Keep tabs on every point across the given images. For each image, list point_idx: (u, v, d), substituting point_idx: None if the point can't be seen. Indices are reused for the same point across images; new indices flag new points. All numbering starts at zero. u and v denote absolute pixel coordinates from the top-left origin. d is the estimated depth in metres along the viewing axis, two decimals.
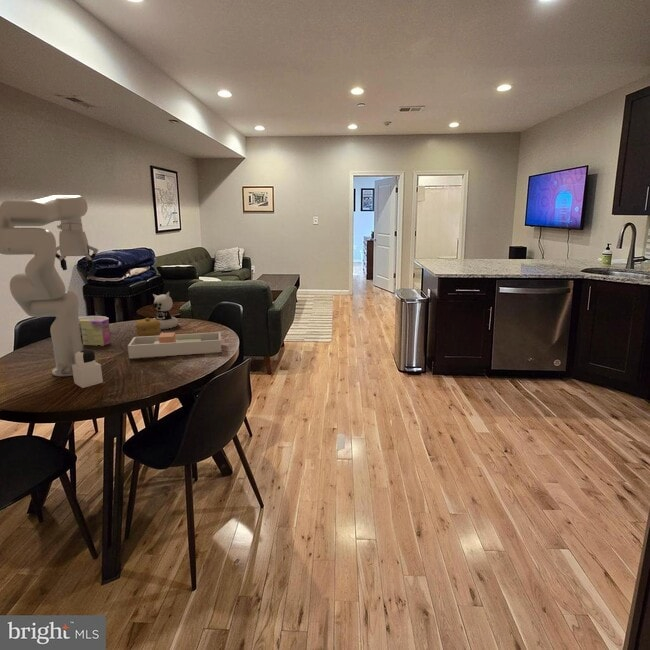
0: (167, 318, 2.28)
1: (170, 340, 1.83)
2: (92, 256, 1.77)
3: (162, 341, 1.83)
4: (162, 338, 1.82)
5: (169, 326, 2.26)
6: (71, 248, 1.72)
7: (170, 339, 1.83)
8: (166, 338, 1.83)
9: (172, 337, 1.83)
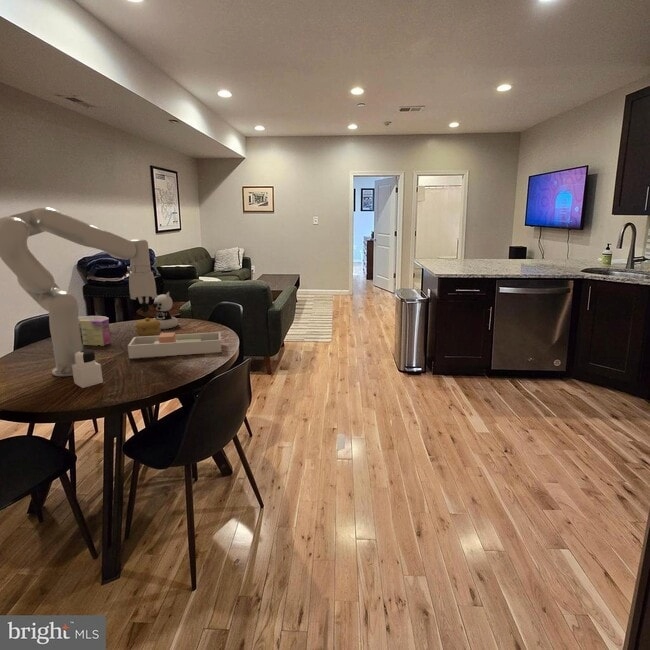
0: (167, 318, 2.28)
1: (170, 340, 1.83)
2: (149, 299, 1.80)
3: (162, 341, 1.83)
4: (162, 338, 1.82)
5: (169, 326, 2.26)
6: (140, 289, 1.76)
7: (170, 339, 1.83)
8: (166, 338, 1.83)
9: (172, 337, 1.83)
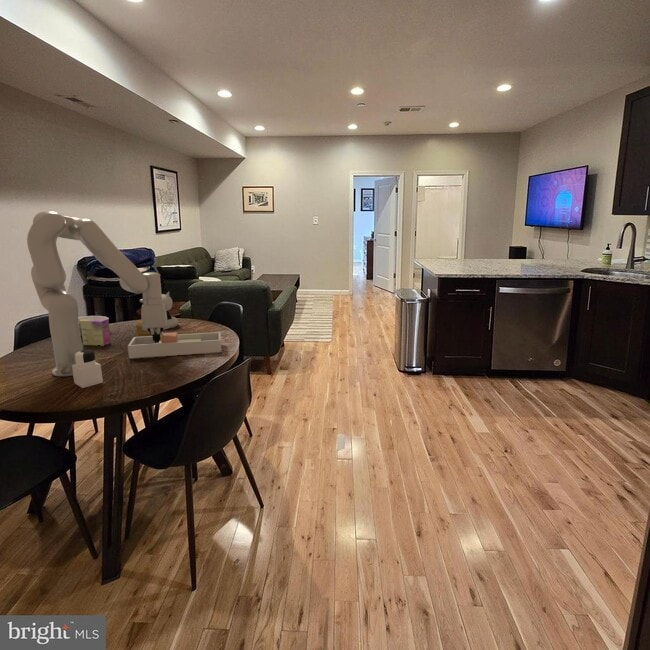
0: (167, 318, 2.28)
1: (172, 340, 1.84)
2: (160, 330, 1.84)
3: (164, 341, 1.83)
4: (164, 338, 1.82)
5: (169, 326, 2.26)
6: (152, 321, 1.80)
7: (172, 339, 1.83)
8: (168, 338, 1.83)
9: (174, 337, 1.83)
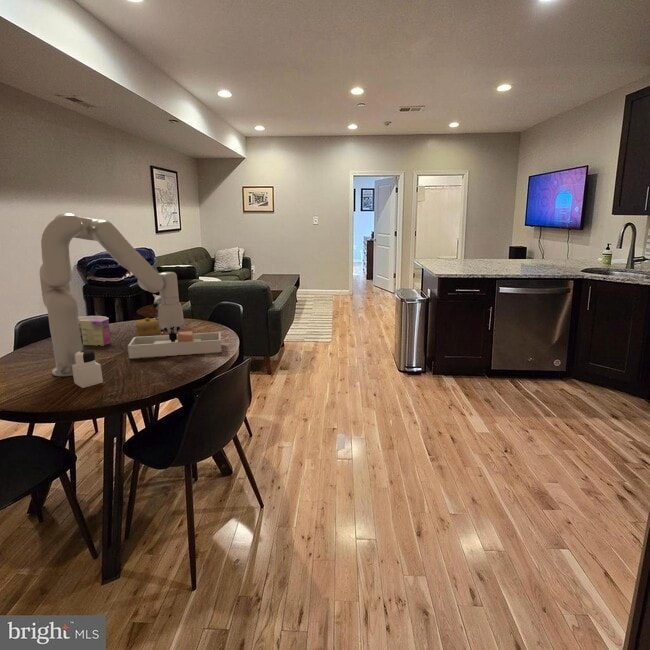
0: None
1: (188, 339, 1.85)
2: (177, 329, 1.86)
3: (181, 340, 1.84)
4: (181, 337, 1.84)
5: None
6: (169, 320, 1.82)
7: (188, 338, 1.85)
8: (185, 337, 1.85)
9: (190, 336, 1.85)
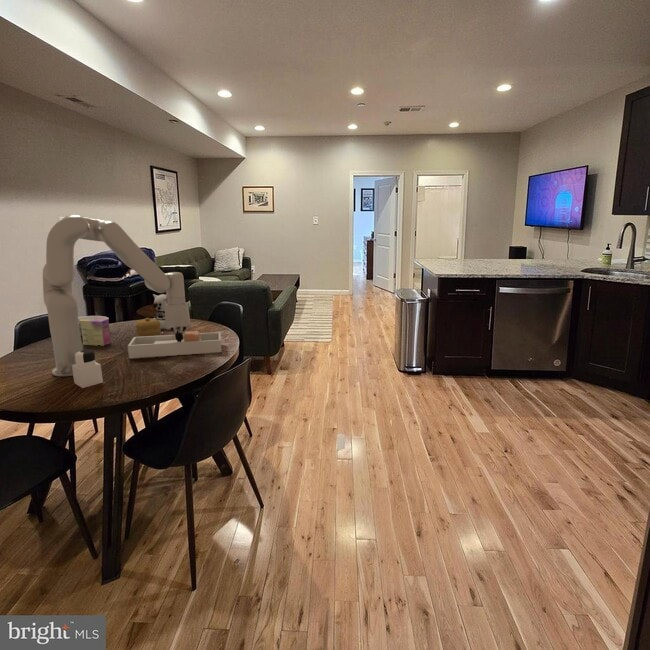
0: None
1: (195, 339, 1.86)
2: (183, 329, 1.86)
3: (187, 340, 1.85)
4: (187, 337, 1.85)
5: None
6: (176, 320, 1.83)
7: (195, 338, 1.86)
8: (191, 337, 1.85)
9: (197, 336, 1.86)
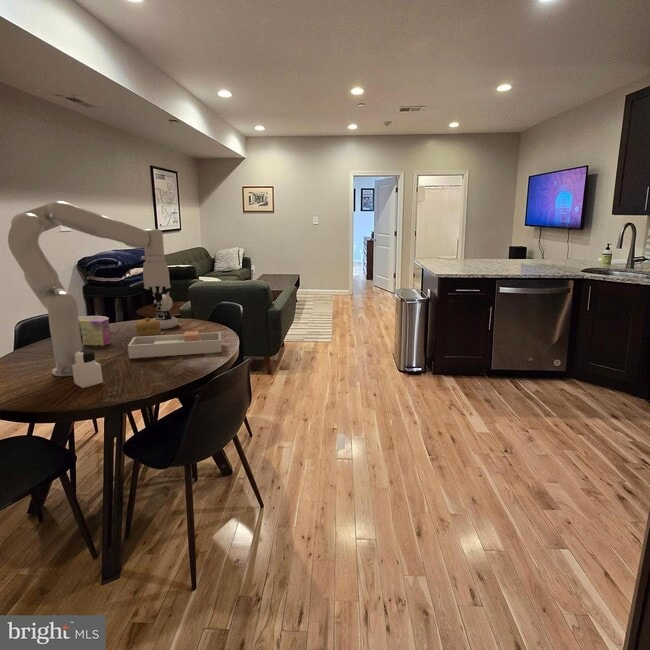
0: (167, 318, 2.28)
1: (195, 339, 1.86)
2: (162, 289, 1.80)
3: (187, 340, 1.85)
4: (187, 337, 1.85)
5: (169, 326, 2.26)
6: (154, 279, 1.77)
7: (195, 338, 1.86)
8: (191, 337, 1.85)
9: (197, 336, 1.86)
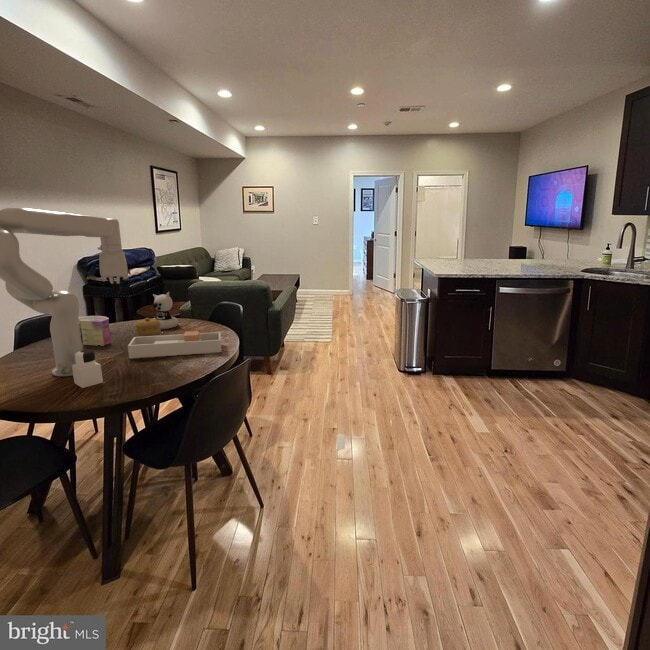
0: (167, 318, 2.28)
1: (195, 339, 1.86)
2: (120, 279, 1.78)
3: (187, 340, 1.85)
4: (187, 337, 1.85)
5: (169, 326, 2.26)
6: (111, 269, 1.74)
7: (195, 338, 1.86)
8: (191, 337, 1.85)
9: (197, 336, 1.86)
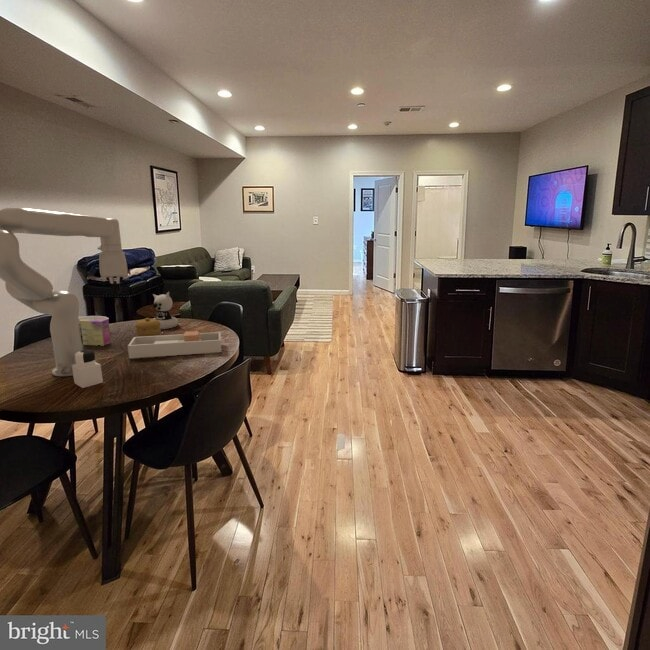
0: (167, 318, 2.28)
1: (195, 339, 1.86)
2: (120, 279, 1.78)
3: (187, 340, 1.85)
4: (187, 337, 1.85)
5: (169, 326, 2.26)
6: (111, 269, 1.74)
7: (195, 338, 1.86)
8: (191, 337, 1.85)
9: (197, 336, 1.86)
